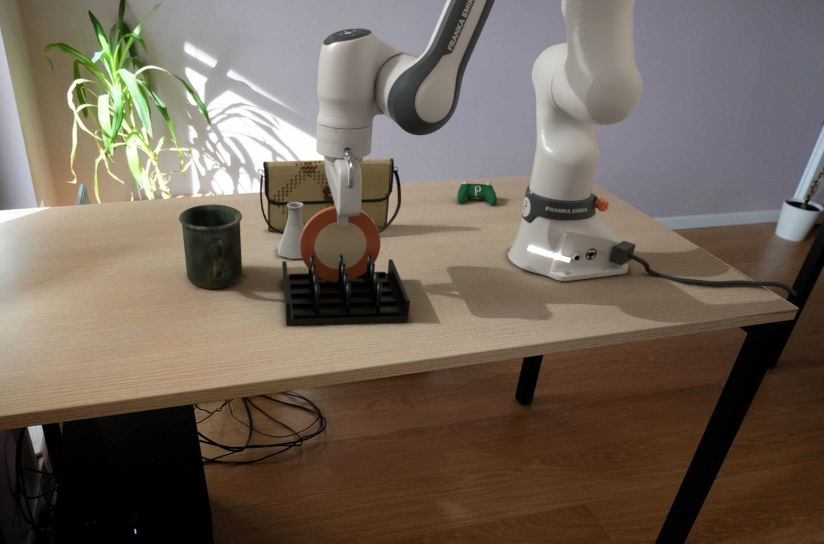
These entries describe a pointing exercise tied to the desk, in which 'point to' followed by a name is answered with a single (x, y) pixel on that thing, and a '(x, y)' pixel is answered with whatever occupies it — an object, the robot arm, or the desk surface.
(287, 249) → the flask
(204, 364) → the desk surface
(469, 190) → the gaming controller
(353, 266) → the plate
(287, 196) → the clutch purse
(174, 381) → the desk surface
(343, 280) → the rack
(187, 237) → the mug
